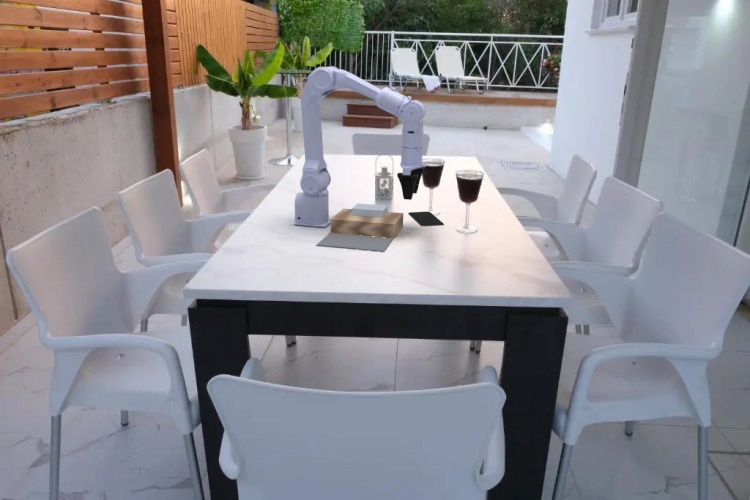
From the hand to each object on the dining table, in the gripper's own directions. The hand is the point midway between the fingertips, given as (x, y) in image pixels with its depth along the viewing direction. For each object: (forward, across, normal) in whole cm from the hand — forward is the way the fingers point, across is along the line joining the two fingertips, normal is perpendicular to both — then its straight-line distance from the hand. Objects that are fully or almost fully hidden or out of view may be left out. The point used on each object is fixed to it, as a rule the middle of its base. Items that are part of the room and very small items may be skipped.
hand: (410, 196), depth 163 cm
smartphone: (+11, +14, -2) cm, 17 cm away
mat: (+10, -15, +12) cm, 21 cm away
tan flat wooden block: (+10, -2, +12) cm, 15 cm away
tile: (+6, 0, +12) cm, 13 cm away
